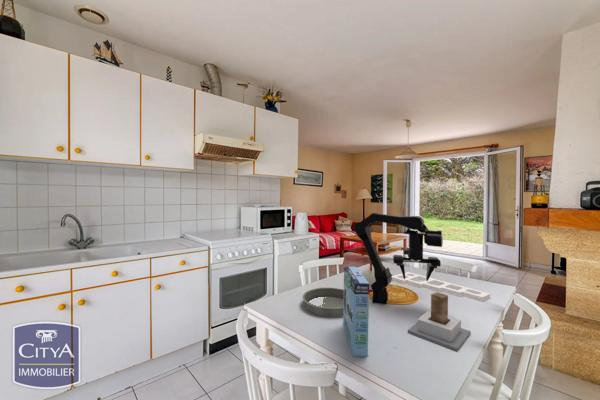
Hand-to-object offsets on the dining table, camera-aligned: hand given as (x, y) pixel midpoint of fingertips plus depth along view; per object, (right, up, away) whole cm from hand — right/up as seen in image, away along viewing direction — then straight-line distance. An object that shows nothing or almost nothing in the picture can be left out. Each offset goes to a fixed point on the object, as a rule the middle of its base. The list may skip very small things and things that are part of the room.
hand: (415, 279), depth 115 cm
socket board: (-1, -13, -21) cm, 24 cm away
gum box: (-32, -13, -25) cm, 43 cm away
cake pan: (-38, -13, +3) cm, 40 cm away
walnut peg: (0, -12, -21) cm, 24 cm away
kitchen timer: (-13, -13, +26) cm, 32 cm away
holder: (+23, -14, +28) cm, 39 cm away
